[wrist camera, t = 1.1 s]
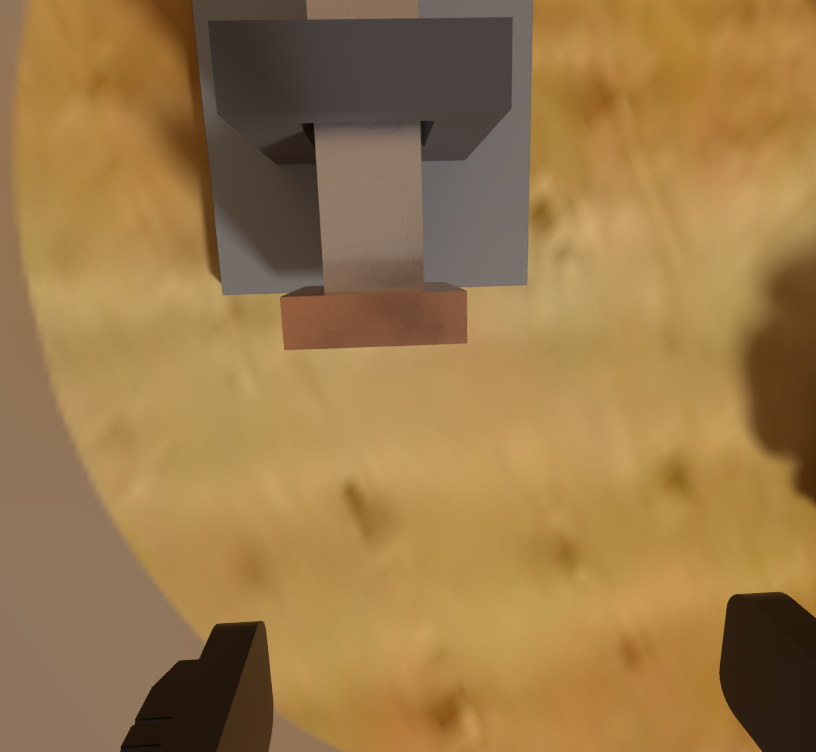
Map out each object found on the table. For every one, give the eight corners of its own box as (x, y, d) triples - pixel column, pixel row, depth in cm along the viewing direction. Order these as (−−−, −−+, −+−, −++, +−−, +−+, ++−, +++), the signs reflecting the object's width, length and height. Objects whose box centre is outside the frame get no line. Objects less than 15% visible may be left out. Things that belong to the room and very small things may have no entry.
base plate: (526, -47, 28) (534, -63, 26) (520, 283, 32) (527, 284, 30) (195, -45, 27) (185, -61, 26) (230, 293, 31) (222, 295, 30)
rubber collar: (464, 103, 28) (512, 16, 18) (465, 160, 29) (511, 108, 18) (271, 107, 28) (207, 20, 17) (276, 164, 28) (217, 114, 18)
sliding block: (441, 14, 24) (465, -79, 18) (445, 321, 27) (467, 343, 21) (286, 16, 24) (249, -78, 17) (308, 325, 27) (284, 350, 20)
